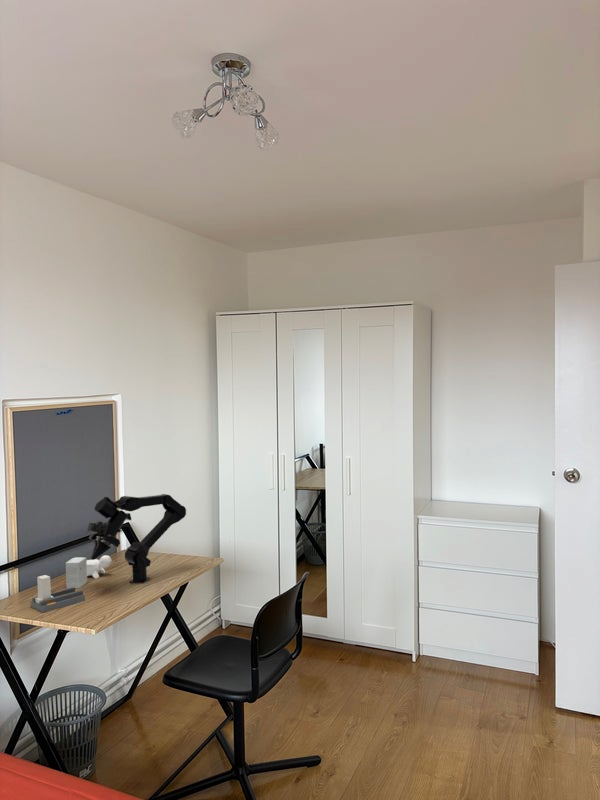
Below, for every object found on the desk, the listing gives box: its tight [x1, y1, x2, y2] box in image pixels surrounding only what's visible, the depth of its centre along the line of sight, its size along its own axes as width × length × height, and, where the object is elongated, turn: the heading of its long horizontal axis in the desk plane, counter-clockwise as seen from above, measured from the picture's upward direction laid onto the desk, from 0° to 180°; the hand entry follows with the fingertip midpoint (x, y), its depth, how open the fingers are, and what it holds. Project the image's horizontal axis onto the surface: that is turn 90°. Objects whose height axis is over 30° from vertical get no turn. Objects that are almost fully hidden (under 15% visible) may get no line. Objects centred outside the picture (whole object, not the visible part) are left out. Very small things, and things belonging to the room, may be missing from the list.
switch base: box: [30, 587, 86, 613], centre depth 227 cm, size 16×10×4 cm, turn 137°
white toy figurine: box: [86, 555, 112, 580], centre depth 262 cm, size 8×8×15 cm
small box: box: [65, 557, 88, 589], centre depth 249 cm, size 8×6×10 cm
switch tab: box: [35, 574, 53, 604], centre depth 223 cm, size 5×4×9 cm
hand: (92, 559), depth 237 cm, fingers closed
